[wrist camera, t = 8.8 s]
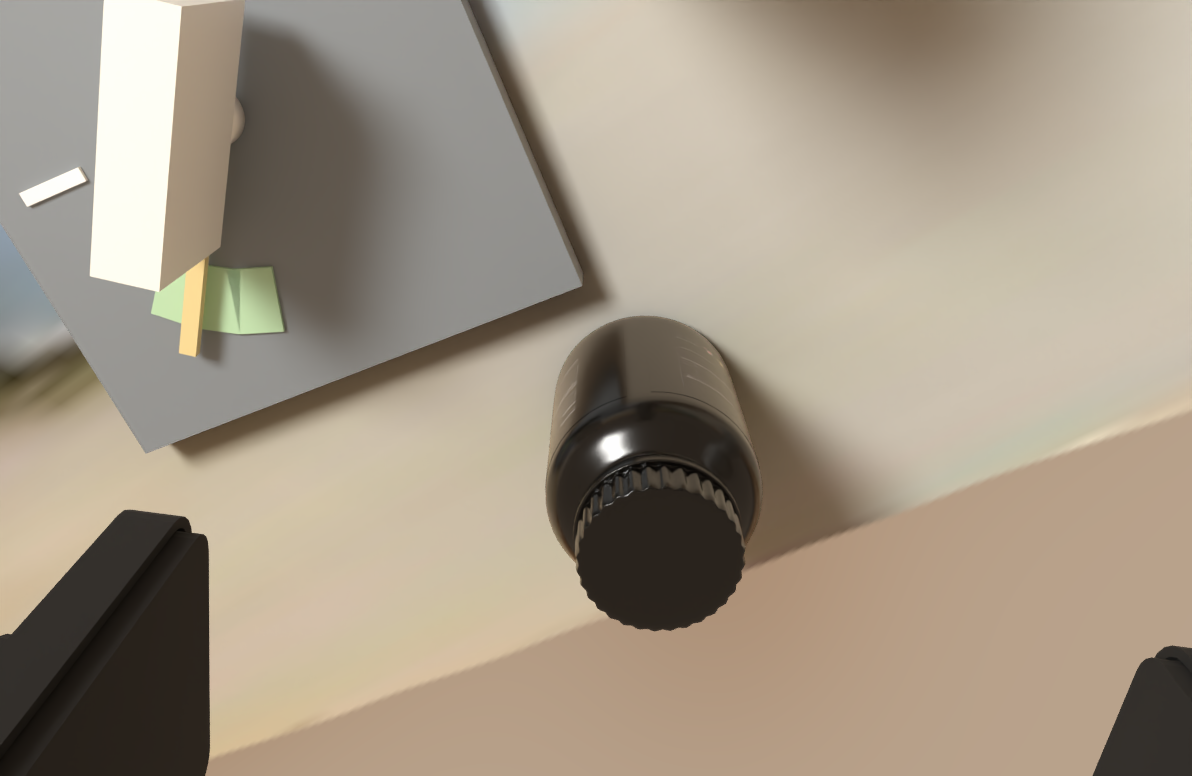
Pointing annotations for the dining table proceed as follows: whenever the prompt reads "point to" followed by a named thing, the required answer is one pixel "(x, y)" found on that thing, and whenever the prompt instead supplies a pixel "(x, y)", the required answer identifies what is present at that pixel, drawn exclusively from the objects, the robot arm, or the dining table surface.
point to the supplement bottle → (651, 473)
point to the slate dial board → (289, 204)
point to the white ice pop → (165, 145)
